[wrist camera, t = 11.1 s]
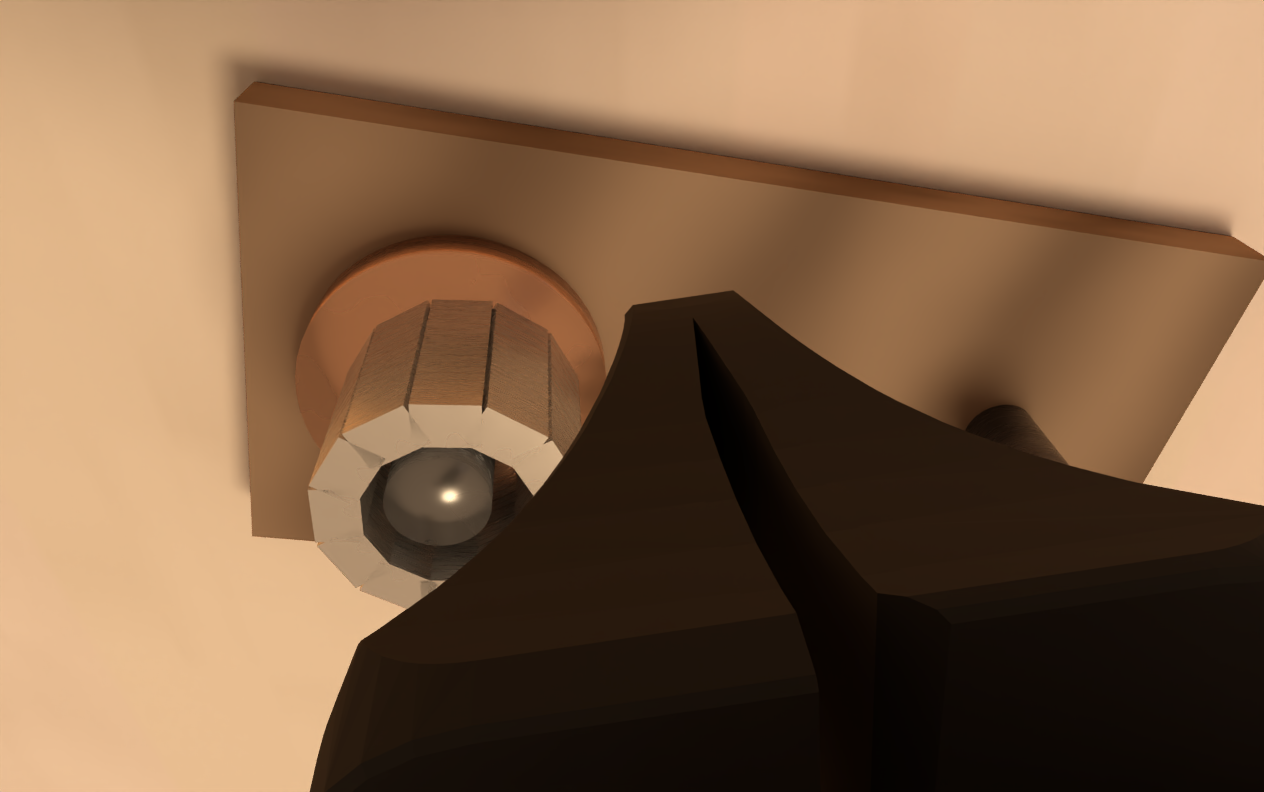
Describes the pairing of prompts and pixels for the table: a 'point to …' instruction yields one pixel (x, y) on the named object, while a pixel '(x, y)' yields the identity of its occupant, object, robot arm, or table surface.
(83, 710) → the table surface
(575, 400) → the steel collar
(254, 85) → the walnut board
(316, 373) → the hub
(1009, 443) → the stand rod
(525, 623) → the robot arm
